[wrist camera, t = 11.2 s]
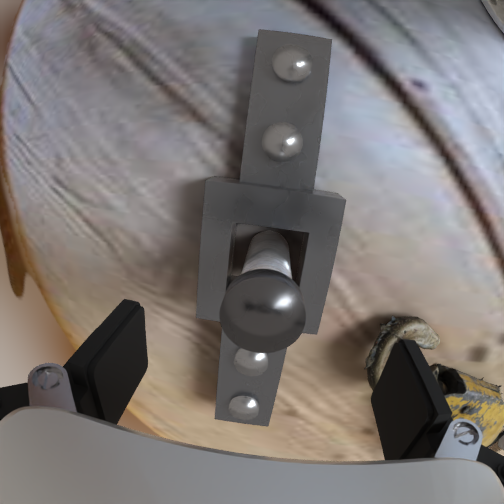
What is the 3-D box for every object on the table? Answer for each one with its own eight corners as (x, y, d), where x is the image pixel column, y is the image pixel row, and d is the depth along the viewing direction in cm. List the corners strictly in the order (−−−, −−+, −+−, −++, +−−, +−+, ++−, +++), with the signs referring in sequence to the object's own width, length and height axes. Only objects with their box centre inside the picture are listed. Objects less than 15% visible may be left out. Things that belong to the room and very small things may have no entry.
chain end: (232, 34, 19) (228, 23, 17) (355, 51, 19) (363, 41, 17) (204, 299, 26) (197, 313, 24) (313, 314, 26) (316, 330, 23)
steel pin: (245, 220, 24) (223, 272, 14) (299, 228, 23) (313, 285, 14) (239, 270, 25) (216, 346, 15) (290, 277, 25) (297, 357, 15)
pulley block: (476, 300, 17) (519, 444, 23) (449, 263, 23) (508, 414, 28) (314, 392, 23) (429, 489, 29) (317, 345, 28) (425, 457, 34)
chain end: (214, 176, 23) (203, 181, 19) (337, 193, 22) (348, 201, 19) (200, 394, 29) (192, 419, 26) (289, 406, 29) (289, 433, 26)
